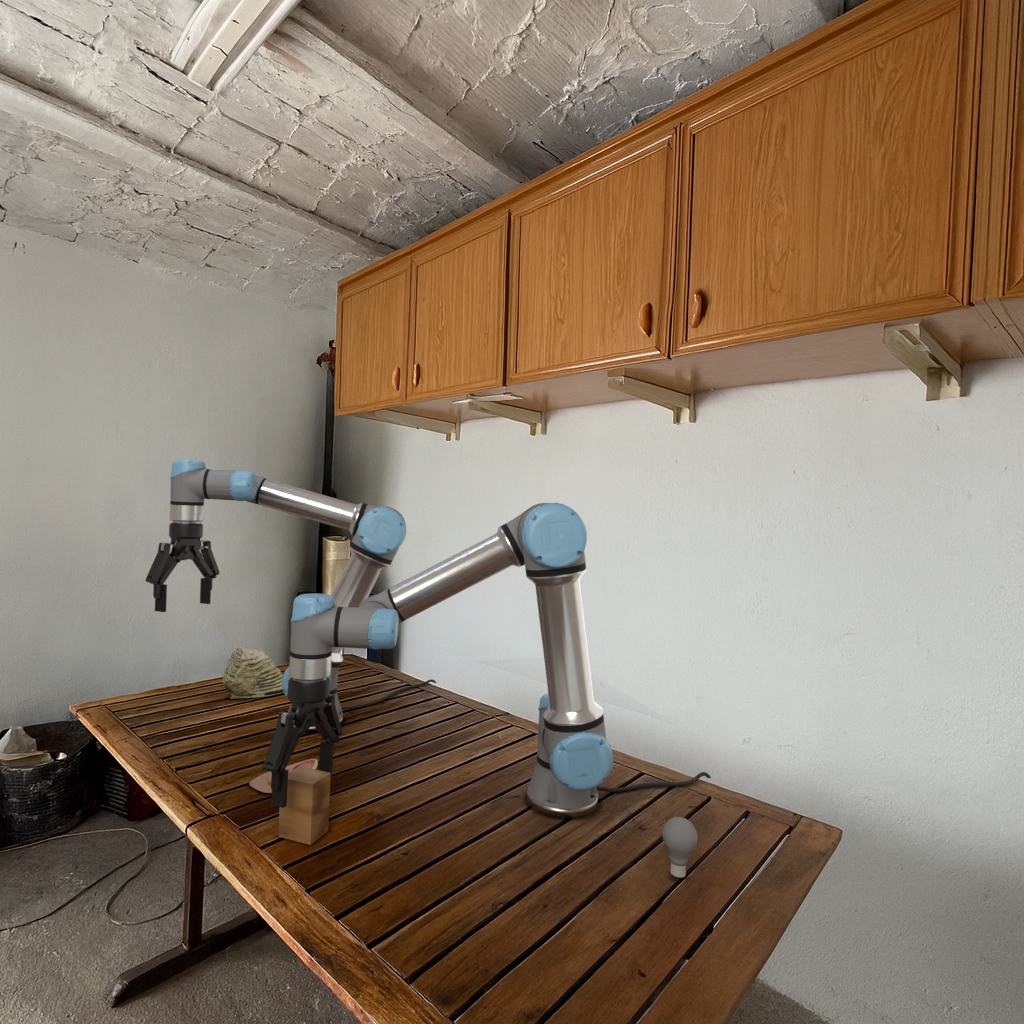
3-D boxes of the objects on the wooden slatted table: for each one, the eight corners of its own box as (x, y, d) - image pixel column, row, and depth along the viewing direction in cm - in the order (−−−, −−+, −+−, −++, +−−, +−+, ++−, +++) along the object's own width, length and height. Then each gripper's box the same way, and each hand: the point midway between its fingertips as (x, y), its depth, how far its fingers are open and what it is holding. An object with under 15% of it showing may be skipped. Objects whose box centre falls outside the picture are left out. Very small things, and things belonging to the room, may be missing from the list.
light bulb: (655, 865, 113) (658, 810, 113) (688, 865, 114) (691, 810, 114) (666, 886, 107) (669, 827, 107) (701, 886, 108) (704, 827, 108)
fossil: (218, 695, 195) (220, 647, 195) (278, 685, 208) (279, 640, 207) (228, 703, 189) (230, 653, 188) (289, 692, 201) (290, 645, 201)
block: (297, 823, 123) (299, 765, 123) (328, 830, 120) (330, 772, 120) (278, 836, 118) (280, 777, 117) (310, 845, 115) (312, 784, 115)
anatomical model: (241, 770, 135) (272, 750, 146) (240, 789, 135) (271, 767, 146) (297, 779, 132) (324, 757, 144) (297, 798, 132) (324, 775, 144)
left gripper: (213, 520, 170) (210, 599, 171) (130, 522, 147) (127, 613, 147) (235, 522, 168) (232, 601, 168) (154, 524, 144) (151, 616, 145)
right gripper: (332, 660, 131) (326, 761, 132) (244, 691, 108) (238, 815, 108) (363, 665, 129) (357, 768, 129) (281, 698, 105) (274, 825, 106)
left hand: (183, 607), depth 158 cm, fingers open, 13 cm apart
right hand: (303, 790), depth 119 cm, fingers open, 13 cm apart
